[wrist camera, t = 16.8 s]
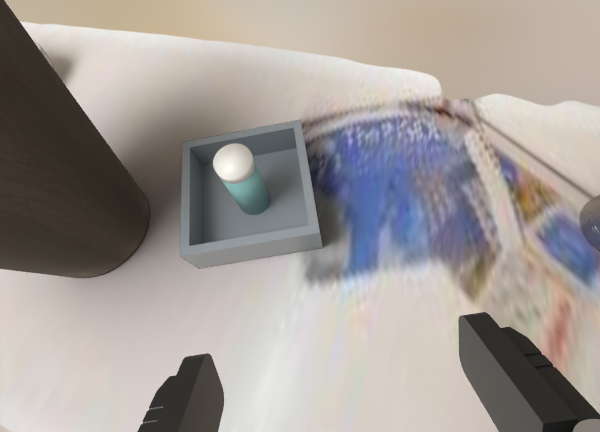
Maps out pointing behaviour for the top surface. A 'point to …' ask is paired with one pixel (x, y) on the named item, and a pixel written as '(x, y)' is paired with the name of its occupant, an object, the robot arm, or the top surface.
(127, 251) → the waste basket
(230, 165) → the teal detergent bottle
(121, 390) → the top surface
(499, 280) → the top surface
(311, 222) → the slate bin
